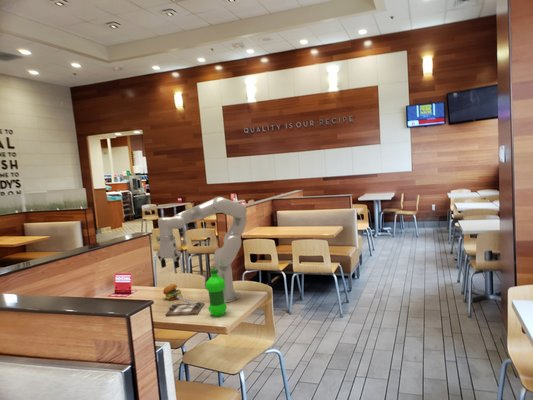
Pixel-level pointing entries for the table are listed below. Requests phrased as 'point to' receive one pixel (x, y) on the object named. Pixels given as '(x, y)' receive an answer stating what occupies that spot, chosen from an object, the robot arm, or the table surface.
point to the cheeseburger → (171, 292)
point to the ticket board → (184, 309)
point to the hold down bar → (185, 300)
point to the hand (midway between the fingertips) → (170, 267)
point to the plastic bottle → (216, 293)
